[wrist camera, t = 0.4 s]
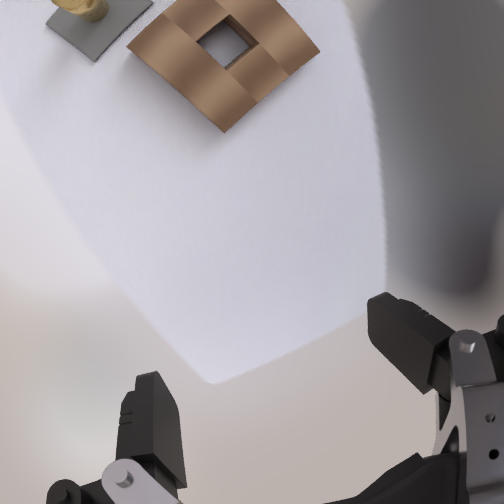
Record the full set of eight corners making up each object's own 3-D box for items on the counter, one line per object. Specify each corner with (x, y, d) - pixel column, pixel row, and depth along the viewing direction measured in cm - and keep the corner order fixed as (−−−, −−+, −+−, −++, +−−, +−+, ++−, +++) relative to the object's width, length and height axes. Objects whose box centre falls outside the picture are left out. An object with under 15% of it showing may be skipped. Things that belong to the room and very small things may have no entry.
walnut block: (131, 49, 24) (126, 46, 21) (227, -28, 21) (234, -40, 18) (218, 126, 32) (224, 133, 29) (305, 52, 29) (320, 51, 25)
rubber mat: (46, 24, 18) (45, 24, 18) (102, -34, 16) (101, -35, 16) (94, 61, 23) (93, 61, 23) (153, 3, 21) (153, 2, 21)
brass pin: (78, 14, 19) (44, -3, 11) (97, -6, 18) (70, -31, 10) (94, 26, 21) (65, 11, 13) (114, 7, 20) (92, -17, 12)
